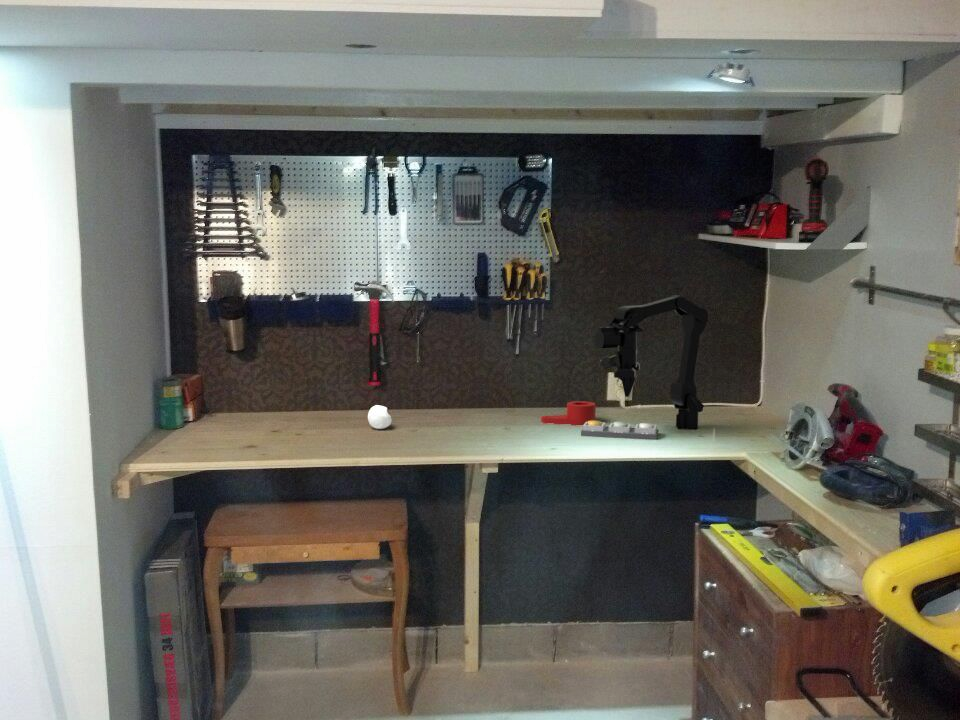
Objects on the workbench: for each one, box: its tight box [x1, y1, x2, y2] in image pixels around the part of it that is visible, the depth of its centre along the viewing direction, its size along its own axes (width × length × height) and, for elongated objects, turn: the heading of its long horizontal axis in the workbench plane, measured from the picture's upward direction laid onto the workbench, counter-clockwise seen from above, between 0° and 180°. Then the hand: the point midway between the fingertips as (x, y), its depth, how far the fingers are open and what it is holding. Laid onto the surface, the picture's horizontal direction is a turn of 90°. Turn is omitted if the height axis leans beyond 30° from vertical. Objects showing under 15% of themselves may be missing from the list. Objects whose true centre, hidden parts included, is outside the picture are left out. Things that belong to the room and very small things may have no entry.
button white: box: [638, 422, 654, 428], centre depth 289 cm, size 4×4×2 cm
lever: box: [540, 400, 597, 426], centre depth 310 cm, size 18×9×7 cm, turn 90°
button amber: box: [588, 419, 601, 426], centre depth 293 cm, size 4×4×2 cm
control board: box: [580, 421, 659, 441], centre depth 291 cm, size 23×9×3 cm, turn 75°
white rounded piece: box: [367, 404, 392, 430], centre depth 300 cm, size 8×8×8 cm
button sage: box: [613, 421, 628, 427], centre depth 291 cm, size 4×4×2 cm
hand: (627, 396), depth 292 cm, fingers closed
